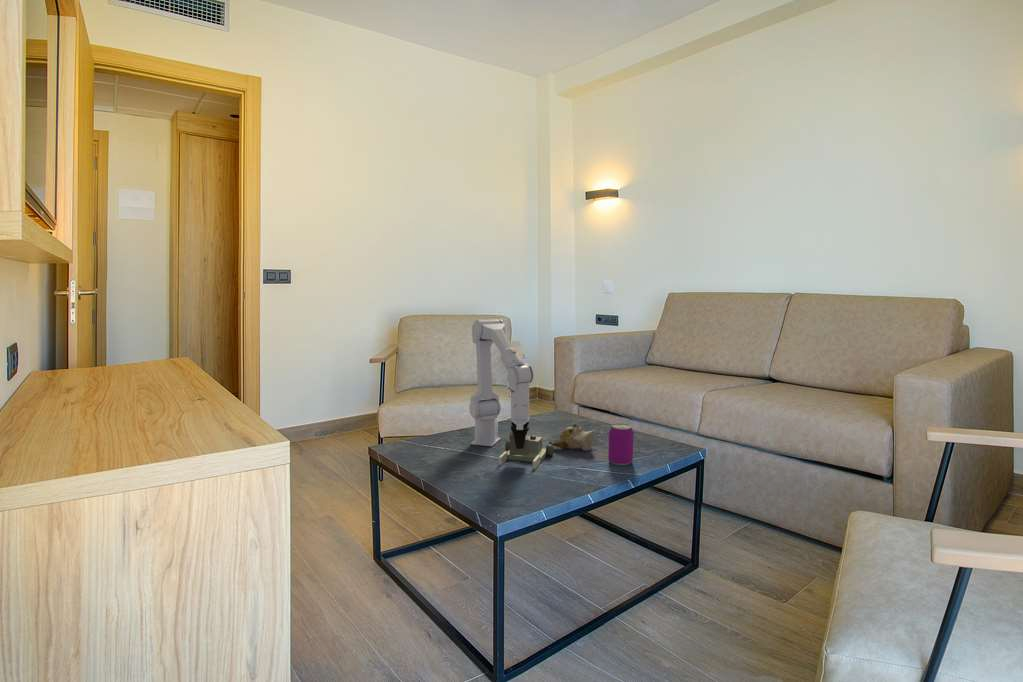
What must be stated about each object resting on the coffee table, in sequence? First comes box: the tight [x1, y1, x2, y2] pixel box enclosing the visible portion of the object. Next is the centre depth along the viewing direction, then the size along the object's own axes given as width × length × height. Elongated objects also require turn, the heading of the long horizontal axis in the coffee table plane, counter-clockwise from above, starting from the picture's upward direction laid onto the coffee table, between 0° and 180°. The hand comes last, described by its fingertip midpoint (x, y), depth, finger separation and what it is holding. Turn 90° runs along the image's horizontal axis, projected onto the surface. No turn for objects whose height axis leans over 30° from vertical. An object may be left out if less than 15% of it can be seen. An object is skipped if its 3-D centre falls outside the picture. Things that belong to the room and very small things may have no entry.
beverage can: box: [607, 422, 635, 466], centre depth 181 cm, size 8×8×12 cm
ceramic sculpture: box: [548, 424, 596, 452], centre depth 196 cm, size 11×9×15 cm
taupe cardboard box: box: [509, 430, 530, 455], centre depth 179 cm, size 4×6×6 cm, turn 89°
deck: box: [498, 434, 555, 470], centre depth 184 cm, size 16×16×6 cm
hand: (519, 446), depth 179 cm, fingers closed on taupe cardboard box, 4 cm apart
